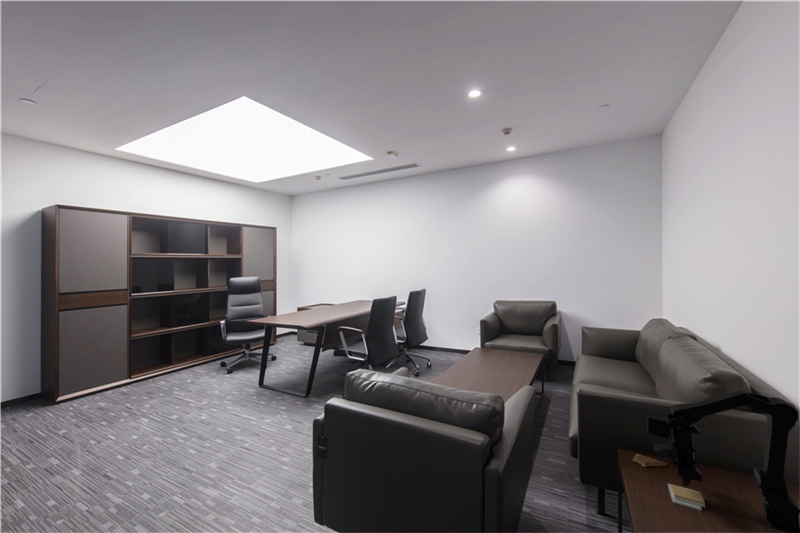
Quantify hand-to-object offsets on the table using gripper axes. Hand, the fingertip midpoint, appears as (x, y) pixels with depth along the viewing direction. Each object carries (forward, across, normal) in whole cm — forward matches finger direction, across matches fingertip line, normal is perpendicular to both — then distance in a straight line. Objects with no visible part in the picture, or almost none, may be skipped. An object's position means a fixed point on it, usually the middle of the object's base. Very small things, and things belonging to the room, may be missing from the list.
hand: (685, 485), depth 115 cm
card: (+3, -1, 0) cm, 3 cm away
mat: (+4, +1, -1) cm, 4 cm away
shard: (+5, -20, -10) cm, 22 cm away
